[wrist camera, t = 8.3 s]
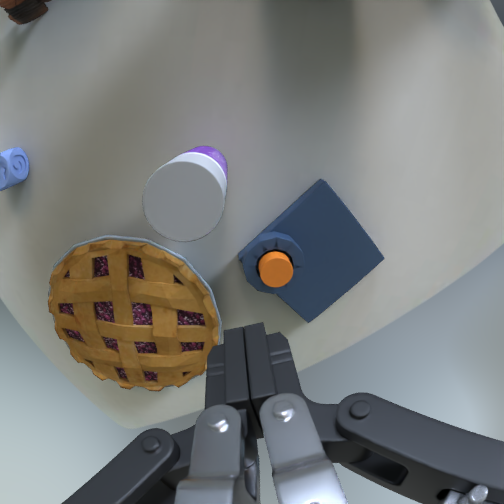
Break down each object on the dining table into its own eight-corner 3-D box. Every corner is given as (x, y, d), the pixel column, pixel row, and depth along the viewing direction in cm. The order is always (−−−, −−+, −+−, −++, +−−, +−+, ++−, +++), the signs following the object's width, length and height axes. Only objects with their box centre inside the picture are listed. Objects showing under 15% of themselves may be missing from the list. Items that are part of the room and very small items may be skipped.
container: (235, 158, 29) (242, 183, 15) (213, 199, 30) (202, 258, 17) (194, 137, 28) (162, 143, 14) (173, 178, 29) (127, 221, 16)
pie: (229, 371, 40) (229, 397, 35) (88, 369, 38) (78, 391, 34) (214, 217, 31) (212, 233, 27) (41, 233, 30) (19, 248, 25)
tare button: (251, 265, 30) (253, 273, 29) (275, 244, 30) (278, 251, 28) (272, 285, 31) (275, 293, 30) (296, 265, 31) (299, 272, 29)
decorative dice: (4, 157, 26) (-15, 162, 22) (25, 145, 26) (5, 149, 22) (11, 186, 27) (-8, 194, 24) (32, 176, 27) (13, 183, 24)
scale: (230, 253, 33) (231, 267, 30) (317, 174, 30) (327, 179, 27) (302, 318, 37) (308, 335, 34) (378, 252, 34) (392, 265, 31)
